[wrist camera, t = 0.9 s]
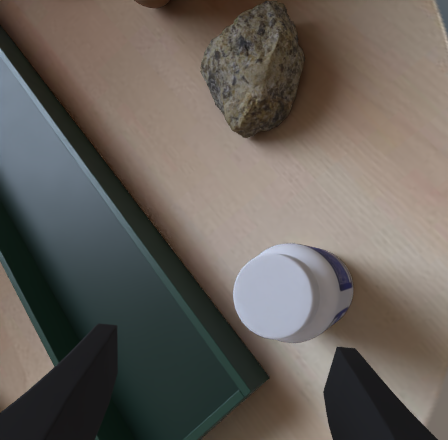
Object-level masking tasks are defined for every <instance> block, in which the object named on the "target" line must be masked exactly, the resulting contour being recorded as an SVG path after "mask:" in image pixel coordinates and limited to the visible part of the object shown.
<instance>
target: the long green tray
mask: <svg viewBox="0 0 448 440" xmlns="http://www.w3.org/2000/svg"><path fill="white" fill-rule="evenodd" d="M0 262H1V264H2V266H3V268H4V269H5V271H6V273H7V275H8V277H9V279H10V281H11V283H12V285H13V287H14V289H15V291H16V293H17V295H18V297H19V299H20V301H21V302H22V304H23V306H24V308H25V310H26V312H27V314H28V316H29V318H30V320H31V322H32V324H33V326H34V328H35V330H36V332H37V334H38V335H39V337H40V339H41V341H42V343H43V345H44V347H45V349H46V351H47V353H48V355H49V357H50V359H51V361H52V363H53V365H54V367H55V366H56V365H57V364H58V363H59V362H60V361H61V360H62V359H63V358H64V357H65V356H67V355H68V354H69V353H70V352H71V351H72V350H73V349H74V348H75V347H76V345H77V344H78V343H79V342H80V341H81V340H82V339H83V338H84V337H85V336H86V335H87V334H88V333H89V332H90V331H91V330H92V329H93V328H94V327H95V326H96V325H97V324H98V323H100V324H110V325H117V342H118V373H117V377H116V381H115V384H114V388H113V392H112V395H111V399H110V402H109V405H108V408H107V410H106V413H105V415H104V418H103V420H102V423H101V425H100V428H99V430H98V433H97V435H96V438H95V440H200V439H201V438H202V437H203V436H205V435H206V434H207V433H208V432H209V431H210V430H211V429H213V428H214V427H215V426H216V425H217V424H218V423H219V422H220V421H222V420H223V419H224V418H225V417H226V416H227V415H228V414H229V413H231V412H232V411H233V410H234V409H235V408H236V407H237V406H239V405H240V404H241V403H242V402H243V401H244V400H245V399H246V398H248V397H249V396H250V395H251V394H252V393H253V392H254V391H255V390H257V389H258V388H259V387H260V386H261V385H262V384H263V383H265V382H266V381H267V380H268V379H269V378H270V377H269V376H268V375H267V373H266V372H265V371H264V369H263V368H262V367H261V365H260V364H259V363H258V362H257V360H256V359H255V358H254V356H253V355H252V354H251V352H250V351H249V350H248V348H247V347H246V346H245V345H244V343H243V342H242V341H241V339H240V338H239V337H238V335H237V334H236V333H235V331H234V330H233V329H232V328H231V326H230V325H229V324H228V322H227V321H226V320H225V318H224V317H223V316H222V314H221V313H220V312H219V311H218V309H217V308H216V307H215V305H214V304H213V303H212V301H211V300H210V299H209V297H208V296H207V295H206V293H205V292H204V291H203V290H202V288H201V287H200V286H199V284H198V283H197V282H196V280H195V279H194V278H193V276H192V275H191V274H190V273H189V271H188V270H187V269H186V267H185V266H184V265H183V263H182V262H181V261H180V259H179V258H178V257H177V256H176V254H175V253H174V252H173V250H172V249H171V248H170V246H169V245H168V244H167V242H166V241H165V240H164V238H163V237H162V236H161V235H160V233H159V232H158V231H157V229H156V228H155V227H154V225H153V224H152V223H151V221H150V220H149V219H148V218H147V216H146V215H145V214H144V212H143V211H142V210H141V208H140V207H139V206H138V204H137V203H136V202H135V201H134V199H133V198H132V197H131V195H130V194H129V193H128V191H127V190H126V189H125V187H124V186H123V185H122V184H121V182H120V181H119V180H118V178H117V177H116V176H115V174H114V173H113V172H112V170H111V169H110V168H109V166H108V165H107V164H106V163H105V161H104V160H103V159H102V157H101V156H100V155H99V153H98V152H97V151H96V149H95V148H94V147H93V146H92V144H91V143H90V142H89V140H88V139H87V138H86V136H85V135H84V134H83V132H82V131H81V130H80V129H79V127H78V126H77V125H76V123H75V122H74V121H73V119H72V118H71V117H70V115H69V114H68V113H67V112H66V110H65V109H64V108H63V106H62V105H61V104H60V102H59V101H58V100H57V98H56V97H55V96H54V94H53V93H52V92H51V91H50V89H49V88H48V87H47V85H46V84H45V83H44V81H43V80H42V79H41V77H40V76H39V75H38V74H37V72H36V71H35V70H34V68H33V67H32V66H31V64H30V63H29V62H28V60H27V59H26V58H25V57H24V55H23V54H22V53H21V51H20V50H19V49H18V47H17V46H16V45H15V43H14V42H13V41H12V40H11V38H10V37H9V36H8V34H7V33H6V32H5V30H4V29H3V28H2V26H1V25H0Z"/></svg>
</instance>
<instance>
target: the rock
mask: <svg viewBox="0 0 448 440" xmlns="http://www.w3.org/2000/svg"><path fill="white" fill-rule="evenodd" d="M304 61H305V57H304V53H303V50H302V49H301V48H300V47H299V46H298V37H297V31H296V29H295V25H294V24H293V22H292V21H291V20H290V18H289V16H288V14H287V9H286V7H285V6H284V4H282V3H278V2H277V1H265V2H264V3H262V4H260V5H257V6H256V7H254V8H253V9H252V10H248V11H244V12H243V13H241V14H240V15H239V16H238V17H237V18H236V19H235V20H234V24H232V25H231V26H228V27H226V28H225V29H224V30H223V32H222V34H221V35H219V36H218V37H216V38H214V39H212V40H211V43H210V44H209V46H208V47H207V49H206V51H205V53H204V57H203V60H202V63H201V73H202V75H203V77H204V80H205V81H206V82H207V85H208V87H209V89H210V92H211V94H212V97H213V99H214V101H215V105H217V107H218V108H219V109H220V110H221V112H222V113H223V115H224V116H225V119H226V121H227V123H228V125H229V126H230V127H231V129H232V131H234V132H236V133H238V134H239V135H241V136H242V137H244V138H248V137H251V136H253V135H255V134H256V133H257V132H259V131H267V130H269V129H272V128H273V127H277V126H278V125H279V124H280V123H281V122H282V121H283V120H284V119H285V118H286V117H287V116H288V114H289V112H290V110H291V105H292V103H293V102H294V100H295V97H296V91H297V87H298V83H299V77H300V75H301V72H302V69H303V62H304Z"/></svg>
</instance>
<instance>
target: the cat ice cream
mask: <svg viewBox="0 0 448 440" xmlns="http://www.w3.org/2000/svg"><path fill="white" fill-rule="evenodd" d="M134 1H136V2H137V3H139V4H141V5H143V6H145V7H149V8H160V7H162V6H164V5H165V4H167V3H168V2H169V0H134Z"/></svg>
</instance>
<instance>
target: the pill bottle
mask: <svg viewBox="0 0 448 440" xmlns="http://www.w3.org/2000/svg"><path fill="white" fill-rule="evenodd" d="M352 298H353V282H352V278H351V275H350V272H349V270H348V269H347V267H346V266H345V264H344V263H343V262H342V261H341V260H340V259H339V258H338V257H337V256H335V255H334V254H332V253H330V252H328V251H326V250H323V249H319V248H314V247H310V246H305V245H301V244H294V243H286V244H279V245H275V246H272V247H270V248H268V249H266V250H264V251H263V252H261V253H260V254H259V255H258V256H257V257H256V258H254V259H252V260H250V261H249V262H248V263H247V264H246V265H245V266H244V267H243V268H242V269H241V271H240V272H239V274H238V276H237V278H236V281H235V284H234V290H233V299H234V305H235V309H236V311H237V314H238V316H239V318H240V319H241V321H242V322H243V323H244V325H245V326H246V327H247V328H248V329H249V330H251V331H252V332H254V333H255V334H257V335H259V336H261V337H264V338H267V339H275V340H278V341H282V342H287V343H299V342H304V341H308V340H310V339H313V338H315V337H317V336H318V335H320V334H321V333H323V332H324V331H325V330H326V329H328V328H329V327H330V326H332V325H333V324H334V323H336V322H337V321H338V320H340V319H341V318H342V317H343V316H344V314H345V313H346V312H347V310H348V308H349V306H350V304H351V301H352Z"/></svg>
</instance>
